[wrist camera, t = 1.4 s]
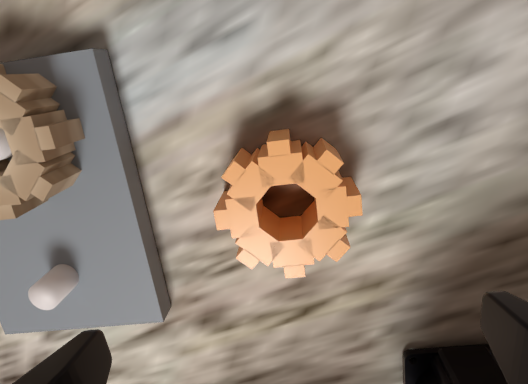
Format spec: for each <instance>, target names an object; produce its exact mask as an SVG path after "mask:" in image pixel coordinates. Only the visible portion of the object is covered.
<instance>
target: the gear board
mask: <svg viewBox="0 0 528 384" xmlns="http://www.w3.org/2000/svg"><path fill="white" fill-rule="evenodd" d="M0 64H3V65H4V68H5V71H6V74H38V73H39V74H40V75H41V76H43V77H44V78H46V79H47V80H48V81H50V82H51V83H53V84H54V85H55V86H57V88H56V89H55V91H54V93H53V95H52V97H51V98H52V99H53V100H55V101H56V102H58V103H59V104H60V105H59V107H58V109H57V111H58V110H64V112H65V115H66V118H67V120H70V119H77V118H79V119H80V122H81V126H82V129H83V133H84V136H85V139H82V140H79V141H76V142H74V146H75V149H76V150H74V151H71V153H73V154H74V155H75V157H74V158H73V160H72V162H71V164H73V165H74V166H76V167H77V168H79V169H80V170H82V171H81V173H80V174H79V176H78V178H77V179H76V181H75V183H74V184H73V185H72V186H71V187H69V188H67V189H65V190H63V191H61V192H60V193H58V194H56V195H54V196H52V197H50V198H49V199H48V201H46V202H45V203H43V204H41V205H39V206H37V207H36V208H34V209H32V210H30V211H28V212H27V213H25V214H23V215H21V216H19V217H18V218H15V219H6V220H0V323H1V325H2V327H3V330H4V332H5V334H16V333H29V332H41V331H54V330H67V329H80V328H93V327H105V326H118V325H131V324H144V323H157V322H164V320H165V318H166V316H167V314H168V312H169V310H170V308H171V304H170V300H169V296H168V292H167V288H166V284H165V280H164V276H163V272H162V268H161V264H160V260H159V256H158V252H157V248H156V244H155V240H154V236H153V232H152V228H151V224H150V220H149V216H148V212H147V208H146V204H145V200H144V196H143V191H142V187H141V183H140V179H139V175H138V171H137V167H136V163H135V159H134V155H133V151H132V147H131V143H130V139H129V135H128V131H127V127H126V123H125V119H124V115H123V111H122V107H121V103H120V99H119V95H118V91H117V87H116V83H115V79H114V75H113V71H112V67H111V63H110V59H109V55H108V51H107V50H104V49H93V48H92V49H86V50H80V51H73V52H67V53H61V54H55V55H48V56H42V57H36V58H30V59H23V60H17V61H11V62H4V63H0ZM12 157H13V155H12V152H11V150H10V147H9V144H8V141H7V138H6V135H5V132H4V130H3V129H1V128H0V160H3V159H8V160H9V161H11V159H12Z"/></svg>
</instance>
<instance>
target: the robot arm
mask: <svg viewBox="0 0 528 384" xmlns="http://www.w3.org/2000/svg"><path fill="white" fill-rule="evenodd" d="M480 324H481V329H482V331H483V334H484V336H485V338H486V340H487V342H488V344H485V345H470V346H455V347H440V348H424V349H410V350H407V351H405V352H404V354H403V383H404V384H528V302H527V301H524V300H522V299H520V298H518V297H516V296H514V295H512V294H510V293H508V292H505V291H493V292H486V293H485V294H484V295H483V299H482V309H481V318H480ZM413 357H414V359H410V358H413ZM111 363H112V357H111V353H110V350H109V347H108V345H107V342H106V339H105V336H104V334H103V332H102V331H101V330H87V331H83V332H81V333H80V334H78V335H77V336H76V337H74V338H73V339H72V340H70V341H69V342H68V343H66V344H65V345H64V346H62V347H61V348H60V349H58V350H57V351H56V352H54V353H53V354H52V355H50V356H49V357H48V358H46V359H45V360H44V361H42V362H41V363H40V364H38V365H37V366H36V367H34V368H33V369H31V370H30V371H29V372H27V373H26V374H25V375H23V376H22V377H21V378H19V379H18V380H17V381H15V382H14V383H13V384H106V383H107V379H108V375H109V372H110V368H111Z"/></svg>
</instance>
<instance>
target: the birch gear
mask: <svg viewBox="0 0 528 384" xmlns="http://www.w3.org/2000/svg"><path fill="white" fill-rule="evenodd" d="M56 88H57V86H55V85H54V84H53V83H51V82H50V81H48V80H47V79H46V78H44V77H43V76H41V75H40V74H39V73H38V74H6V71H5V68H4V65H3V64H0V128H1V129H3V130H4V132H5V135H6V138H7V141H8V144H9V147H10V150H11V152H12V155H13V157H12V159H11V161H9V160H8V159H3V160H0V220H6V219H15V218H18V217H19V216H21V215H23V214H25V213H27V212H28V211H30V210H32V209H34V208H36V207H37V206H39V205H41V204H43V203H45V202H46V201H48V199H49V198H50V197H52V196H54V195H56V194H58V193H60V192H61V191H63V190H65V189H67V188H69V187H71V186H72V185H73V184H74V183H75V181H76V179H77V178H78V176H79V174H80V173H81V171H82V170H80V169H79V168H77V167H76V166H74V165H73V164H71V162H72V160H73V158H74V157H75V155H74V154H73V153H71V151H74V150H76V149H75V146H74V142H76V141H79V140H82V139H85V136H84V133H83V129H82V126H81V122H80V119H79V118H77V119H70V120H67V118H66V115H65V112H64V110H58V111H57V109H58V107H59V105H60V104H59V103H58V102H56V101H55V100H53V99H52V98H51V97H52V95H53V93H54V91H55V89H56Z"/></svg>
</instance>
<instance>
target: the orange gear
mask: <svg viewBox="0 0 528 384" xmlns="http://www.w3.org/2000/svg"><path fill="white" fill-rule="evenodd" d="M343 164H344V162H343V160H342V159H341V157H340V155H339V153H338V152H337V150H336V149H335V148H334V147H333V146H332V145H330V144H329V143H328V142H326V141H325V140H324V139H323V138H320V140H319V141H318V142H317V143H316V144H315V146H314V147H312V146H311V145H310V144H308V143H307V142H305V143H304V144H303V145H302V147H301V142H300V140H296V141H291V140H290V132H289V129H283V130H275V131H270V132H269V136H268V139H267V144H264V145H262V146H261V149H259V148H256V150H255V151H254V152H253V154H252V155H251V154H250V153H249V152H247V151H246V150H245V149H243V148H241V149H240V150H239V152H238V153H237V154H236V156H235V157H234V158H233V160H232V161H231V163H230V164H229V166H228V167H227V169H226V171H225V172H224V174H223V175H222V177H221V178H223V179H224V180H225V181H227V182H228V183H229V184H231V186H230V188H229V190H228V191H224V192H223V194H222V196H221V198H220V200H219V201H218V203H217V205H216V207H215V209H214V211H213V212H214V217H215V222H216V227H217V230H225V229H230V230H231V236H232V238H237V239H236V242H235V243H236V244H237V245H238V246H239V249H238V252H237V256H236V259H237V260H239V261H240V262H242V263H243V264H245V265H246V266H247V267H249V268H250V269H253V268H254V267H255V266H256V264H257V263H258V262H259V261H261V262H263V263H264V264H265V265H267V266H269V264H270V263H271V262H272V261H273V267H274V268H277V267H284V272H285V278H296V277H305V265H310V264H314V258H315V259H317V260H318V261H321V260H322V259H323V257H324V256H325V255H328V256H329V257H331V258H332V259H333V260H335V261H336V262H337V261H338V260H339V259H340V258H341V257H342V256H343V255H344V254H345V253H346V252H347V251H348V250H349V248H350V245H349V242H348V239H347V236H346V233H347V231H346V228H345V227H349V220H348V217H351V216H361V215H362V201H361V194H360V192H359V190H358V188H357V187H356V185H355V183H354V181H353V179H352V178H351V177H345V178H342V177H341V175H340V173H339V170H338V169H339V168H340V167H341V166H342V165H343ZM295 183H296V184H297V185H299V186H300V187H301V188H303V189H304V190H305V191H307V192H308V193H309V194H311V195H312V196H313V197H314V201H313V202H312V203H311V205H310V206H309V207H308V208H307V209H306V210H305V211H304V213H303V214H302V215H301V216H293V217H283V218H280V217H278V216H277V215H276V214H274V213H273V212H271V211H270V210H269V209H267V208H266V207H265V206H263V199H262V197H263V195H264V194H265V193H266V192H267V190H268V189H269V188H270V187H271V186H278V185H286V184H295Z"/></svg>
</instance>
